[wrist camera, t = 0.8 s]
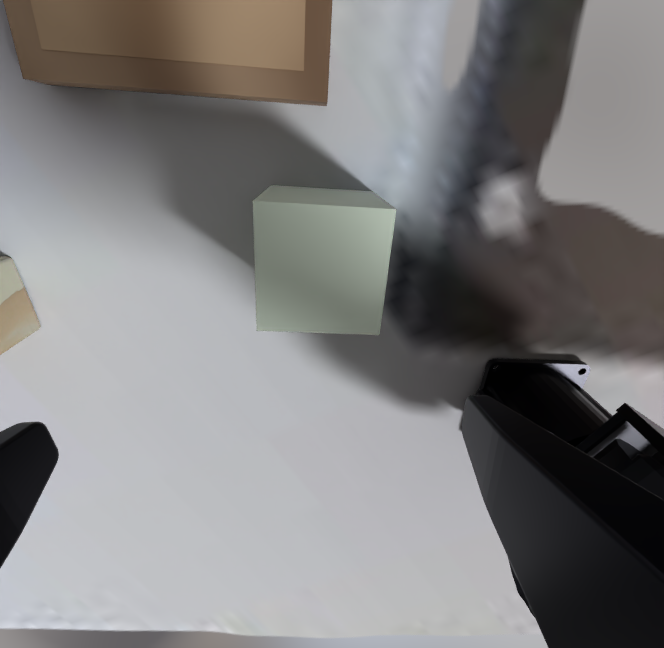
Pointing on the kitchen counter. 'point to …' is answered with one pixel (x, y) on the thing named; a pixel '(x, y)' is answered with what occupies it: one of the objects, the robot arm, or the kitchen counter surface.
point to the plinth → (178, 46)
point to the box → (14, 307)
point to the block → (321, 259)
